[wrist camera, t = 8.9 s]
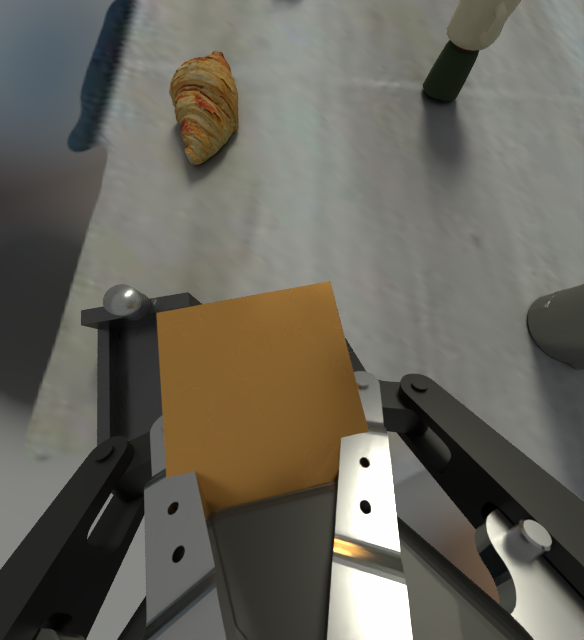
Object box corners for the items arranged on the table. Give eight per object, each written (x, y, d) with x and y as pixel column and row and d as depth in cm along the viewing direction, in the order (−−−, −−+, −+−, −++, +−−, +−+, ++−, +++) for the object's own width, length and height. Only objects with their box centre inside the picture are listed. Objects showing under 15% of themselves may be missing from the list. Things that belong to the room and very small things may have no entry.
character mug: (462, 117, 38) (551, -11, 25) (421, 115, 38) (491, -15, 25) (453, 72, 40) (530, -64, 28) (415, 70, 40) (475, -69, 28)
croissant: (222, 192, 37) (235, 155, 30) (153, 161, 32) (150, 108, 26) (240, 96, 42) (255, 45, 35) (182, 57, 37) (186, -11, 30)
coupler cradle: (216, 419, 25) (190, 437, 18) (117, 440, 25) (50, 467, 18) (203, 299, 29) (176, 275, 22) (115, 314, 28) (58, 294, 21)
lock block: (323, 417, 15) (384, 491, 6) (245, 434, 15) (170, 544, 5) (305, 331, 17) (328, 274, 7) (233, 345, 17) (156, 305, 7)
